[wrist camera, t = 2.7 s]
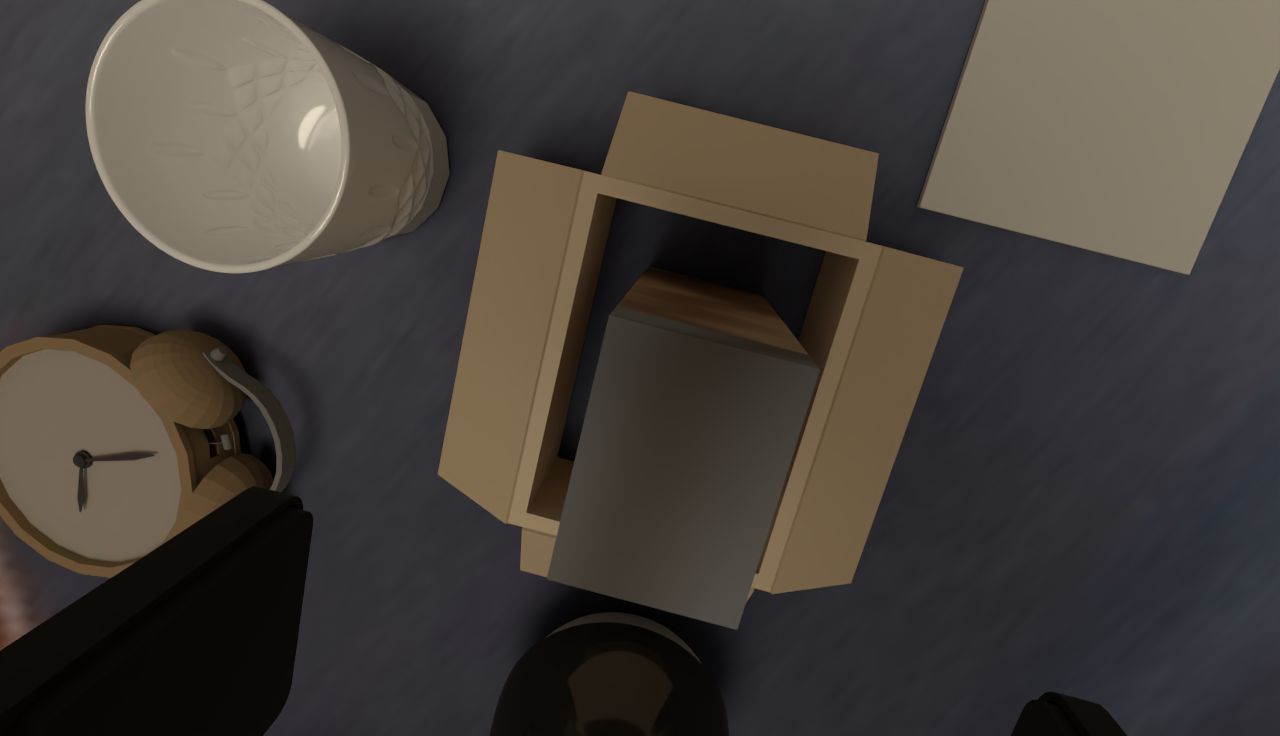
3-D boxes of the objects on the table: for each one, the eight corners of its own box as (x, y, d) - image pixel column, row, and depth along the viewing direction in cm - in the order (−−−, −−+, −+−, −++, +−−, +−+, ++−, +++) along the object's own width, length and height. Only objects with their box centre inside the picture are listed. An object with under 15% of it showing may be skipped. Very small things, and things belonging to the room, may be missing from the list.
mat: (1309, -19, 25) (1319, -23, 25) (1182, 273, 28) (1189, 274, 27) (1015, -90, 25) (1020, -95, 25) (916, 206, 28) (919, 207, 28)
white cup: (429, 281, 30) (304, 315, 21) (264, 209, 30) (59, 209, 21) (490, 107, 29) (384, 53, 19) (314, 29, 28) (116, -66, 19)
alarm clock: (-73, 349, 30) (194, 321, 26) (46, 328, 35) (290, 302, 31) (8, 581, 32) (265, 590, 28) (111, 533, 37) (344, 534, 33)
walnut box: (762, 295, 29) (820, 369, 16) (719, 445, 31) (737, 630, 17) (649, 266, 29) (609, 315, 16) (611, 417, 31) (546, 579, 18)
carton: (956, 187, 28) (1027, 181, 22) (814, 598, 32) (841, 686, 26) (536, 82, 28) (493, 48, 22) (454, 503, 33) (401, 569, 27)
